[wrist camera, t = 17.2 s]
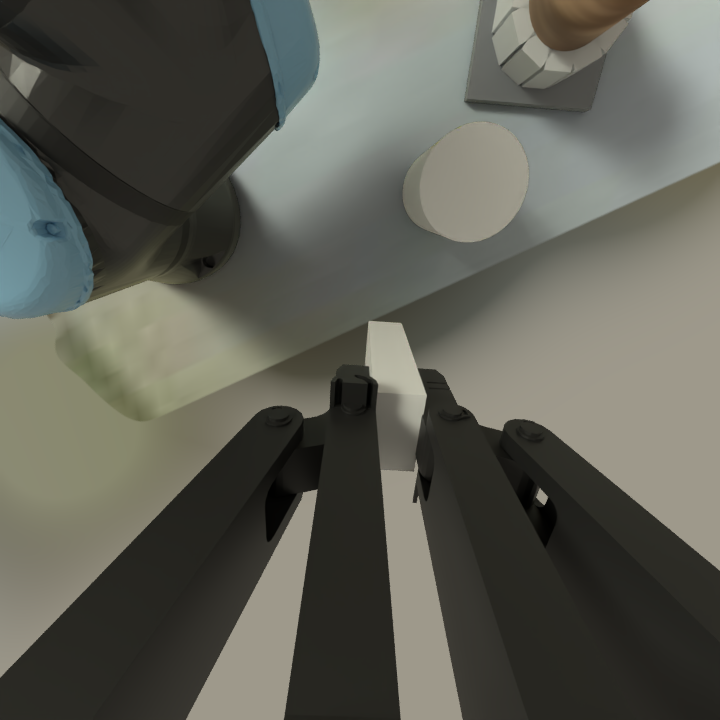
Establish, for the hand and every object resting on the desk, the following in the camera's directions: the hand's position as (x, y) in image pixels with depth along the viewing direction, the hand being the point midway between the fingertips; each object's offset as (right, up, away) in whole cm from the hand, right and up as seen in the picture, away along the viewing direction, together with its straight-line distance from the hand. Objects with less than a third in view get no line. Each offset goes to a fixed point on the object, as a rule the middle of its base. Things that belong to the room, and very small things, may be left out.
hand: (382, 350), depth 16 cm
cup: (+8, +18, +21) cm, 29 cm away
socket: (+16, +30, +16) cm, 37 cm away
